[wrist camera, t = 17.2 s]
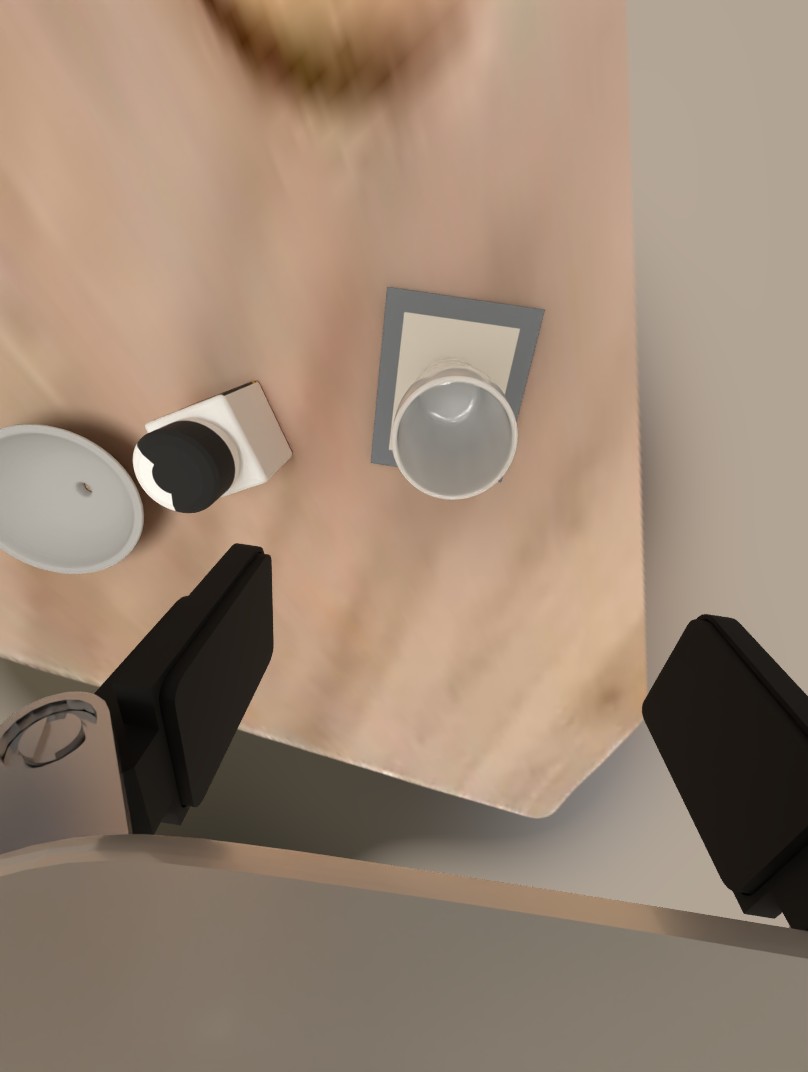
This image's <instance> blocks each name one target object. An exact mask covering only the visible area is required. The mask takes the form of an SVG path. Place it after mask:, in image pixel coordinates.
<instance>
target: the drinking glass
mask: <svg viewBox="0 0 808 1072" xmlns="http://www.w3.org/2000/svg"><path fill="white" fill-rule="evenodd" d="M391 440H392V451H393V455H394V458H395V461H396V464H397V466H398V468H399V470H400V471H401V473H402V474H403V476H404V477H405V478H406V479H407V480H408V482H410V483H411V484H412V485H413V486H414V487H415V488H417V489H418V490H420V491H421V492H423V493H425V494H427V495H430V496H433V497H436V498H440V499H448V500H457V499H465V498H469V497H473V496H475V495H478V494H480V493H482V492H484V491H486V490H488V489H489V488H490V487H492V486H493V485H494V484H496V483H497V482H498V481H499V480H500V479H501V478H502V477H503V475H504V474H505V473H506V471H507V470H508V468H509V467H510V465H511V463H512V461H513V458H514V455H515V452H516V448H517V441H518V430H517V423H516V419H515V416H514V413H513V411H512V408H511V406H510V404H509V402H508V400H507V398H506V396H505V395H504V393H503V391H502V390H501V389H500V387H499V386H498V385H497V384H496V383H495V382H494V381H493V380H492V379H491V378H490V377H489V376H488V375H486V374H485V373H484V372H482V371H480V370H478V369H477V368H474V367H473V366H472V365H470V364H469V363H468V362H466V361H464V360H461V359H458V358H444V359H440V360H438V361H436V362H434V363H432V364H431V365H430V366H428V367H427V368H426V369H425V371H424V372H423V373H422V374H421V375H420V376H419V377H418V378H417V379H416V380H415V381H414V382H413V383H412V384H411V385H410V387H409V388H408V389H407V391H406V392H405V394H404V396H403V397H402V399H401V401H400V404H399V406H398V409H397V412H396V415H395V419H394V424H393V429H392V438H391Z"/></svg>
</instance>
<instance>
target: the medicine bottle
mask: <svg viewBox="0 0 808 1072" xmlns="http://www.w3.org/2000/svg"><path fill="white" fill-rule="evenodd" d="M145 428H146V430H147V432H148V434H146V435H144V436H143V437H142V438H141V439H140V440H139V441H138V443H137V445H136V447H135V449H134V453H133V467H134V471H135V474H136V477H137V479H138V482H139V483H140V485H141V487H142V488H143V489H144V491H145V492H146V493H147V494H148V495H149V496H150V497H151V498H152V499H153V500H154V501H156V502H157V503H159V504H160V505H162V506H164V507H166V508H168V509H171V510H173V511H177V512H182V513H195V512H200V511H202V510H205V509H206V508H208V507H209V506H210V505H212V504H213V503H214V502H215V501H216V500H217V499H218V498H220V497H223V496H227V495H230V494H233V493H236V492H239V491H242V490H245V489H248V488H251V487H254V486H257V485H260V484H263V483H266V482H267V481H268V480H269V479H270V478H271V477H272V476H273V475H274V474H275V473H276V472H277V471H278V470H279V469H280V468H281V467H282V466H283V465H284V464H285V463H286V462H287V461H288V460H289V459H290V458H291V457H292V452H291V450H290V447H289V445H288V443H287V441H286V439H285V437H284V435H283V433H282V431H281V429H280V426H279V424H278V422H277V420H276V418H275V416H274V414H273V412H272V410H271V408H270V405H269V403H268V401H267V399H266V397H265V395H264V393H263V391H262V389H261V387H260V384H259V383H258V382H257V381H252V382H249V383H247V384H244V385H242V386H239V387H237V388H234V389H231V390H229V391H226V392H224V393H221V394H219V395H216V396H214V397H211V398H208V399H206V400H203V401H201V402H198V403H196V404H193V405H190V406H188V407H185V408H183V409H181V410H178V411H176V412H173V413H171V414H168V415H166V416H163V417H161V418H158V419H156V420H153V421H151V422H148V423H147V424H146V425H145Z"/></svg>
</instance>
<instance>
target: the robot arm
mask: <svg viewBox="0 0 808 1072" xmlns="http://www.w3.org/2000/svg"><path fill="white" fill-rule="evenodd" d="M272 653H273V604H272V564H271V556H270V555H267V554H264V551H263V548H262V547H258V546H251V545H245V544H238V543H236V544H234V545H232V546H231V548H230V549H229V550H228V551H227V552H226V553H225V555H224V556H223V557H222V558H221V559H220V560H219V561H218V563H217V564H216V565H215V566H214V567H213V568H212V569H211V571H210V572H209V573H208V574H207V575H206V576H205V577H204V579H203V580H202V581H201V582H200V583H199V584H198V585H197V587H196V588H195V589H194V590H193V591H192V592H191V593H190V595H189V596H185V597H182V598H180V599H179V600H178V601H177V602H176V603H175V604H174V605H173V606H172V607H171V608H170V610H169V611H168V612H167V613H166V614H165V615H164V616H163V617H162V618H161V620H160V621H159V622H158V623H157V624H156V625H155V626H154V627H153V629H152V630H151V631H150V632H149V633H148V634H147V635H146V636H145V637H144V639H143V640H142V641H141V642H140V643H139V644H138V645H137V646H136V648H135V649H134V650H133V651H132V652H131V653H130V654H129V655H128V656H127V658H126V659H125V660H124V661H123V662H122V663H121V664H120V665H119V667H118V668H117V669H116V670H115V671H114V672H113V673H112V674H111V675H110V677H109V678H108V679H107V680H106V681H105V682H104V683H103V684H102V685H101V687H100V688H99V689H98V690H97V691H96V692H95V693H94V694H91V693H87V692H65V693H61V694H56V695H51V696H48V697H46V698H43V699H40V700H38V701H35V702H33V703H31V704H29V705H27V706H25V707H24V708H22V709H21V710H19V711H17V712H15V713H14V714H12V715H11V716H10V717H9V718H7V719H6V720H5V721H4V722H3V723H2V724H0V1072H808V696H807V695H806V694H805V693H804V692H803V691H802V690H801V688H800V687H799V686H797V684H796V683H795V682H794V681H793V680H792V679H791V678H790V677H789V676H788V675H787V673H786V672H785V671H784V670H783V669H782V668H781V667H780V666H779V665H778V664H777V663H776V662H775V661H774V659H773V658H772V657H771V656H770V655H769V654H768V653H767V652H766V651H765V650H764V649H763V648H762V647H761V646H760V644H759V643H758V642H757V641H756V640H755V639H754V638H753V637H752V636H751V635H750V634H749V633H748V632H747V631H746V629H745V628H744V627H743V626H742V625H741V624H740V623H739V622H738V621H737V620H735V619H732V618H728V617H721V616H715V615H708V614H704V615H701V616H699V617H698V618H697V619H695V620H692V621H690V622H689V624H688V625H687V627H686V629H685V631H684V632H683V634H682V636H681V637H680V639H679V641H678V643H677V645H676V646H675V648H674V650H673V651H672V653H671V655H670V657H669V658H668V660H667V662H666V664H665V665H664V667H663V669H662V671H661V673H660V674H659V676H658V678H657V680H656V681H655V683H654V685H653V686H652V688H651V690H650V692H649V693H648V695H647V697H646V699H645V700H644V702H643V706H642V714H643V718H644V721H645V723H646V725H647V727H648V729H649V731H650V733H651V735H652V737H653V739H654V741H655V743H656V745H657V748H658V749H659V752H660V754H661V756H662V758H663V760H664V762H665V764H666V766H667V768H668V770H669V772H670V774H671V776H672V778H673V781H674V783H675V784H676V787H677V789H678V791H679V793H680V795H681V797H682V799H683V801H684V803H685V805H686V807H687V809H688V811H689V813H690V816H691V818H692V820H693V822H694V824H695V826H696V828H697V830H698V832H699V834H700V836H701V838H702V840H703V842H704V844H705V847H706V848H707V851H708V853H709V855H710V857H711V859H712V861H713V863H714V865H715V867H716V869H717V871H718V873H719V875H720V878H721V879H722V881H723V883H724V884H725V885H726V886H727V887H728V888H729V889H730V890H732V891H733V893H734V895H735V897H736V899H737V901H738V903H739V905H740V907H741V909H742V911H743V913H744V914H748V915H755V916H761V917H768V918H776V917H777V916H778V915H780V914H781V913H782V912H783V914H784V916H785V918H786V920H787V921H788V923H789V925H790V926H789V928H785V927H779V926H772V925H766V924H760V923H754V922H748V921H742V920H735V919H730V918H723V917H717V916H711V915H705V914H699V913H693V912H687V911H680V910H674V909H668V908H661V907H656V906H649V905H643V904H637V903H630V902H624V901H618V900H611V899H605V898H599V897H592V896H586V895H580V894H573V893H567V892H561V891H554V890H547V889H542V888H535V887H528V886H522V885H516V884H509V883H503V882H496V881H490V880H484V879H477V878H471V877H465V876H458V875H452V874H445V873H439V872H432V871H425V870H419V869H411V868H406V867H399V866H392V865H386V864H379V863H373V862H366V861H359V860H352V859H346V858H340V857H332V856H326V855H320V854H313V853H306V852H300V851H292V850H284V849H277V848H269V847H262V846H254V845H246V844H239V843H231V842H223V841H216V840H209V839H201V838H189V837H176V836H162V835H154V833H155V832H156V830H157V828H158V826H159V824H160V822H163V823H170V824H176V825H181V823H182V822H183V819H184V817H185V816H186V814H187V812H188V810H189V807H190V806H192V807H197V806H199V805H200V803H201V802H202V800H203V798H204V796H205V795H206V793H207V790H208V788H209V786H210V784H211V782H212V780H213V778H214V776H215V774H216V772H217V770H218V768H219V766H220V763H221V762H222V759H223V757H224V755H225V753H226V751H227V749H228V747H229V745H230V743H231V741H232V738H233V737H234V735H235V732H236V730H237V728H238V726H239V724H240V722H241V720H242V718H243V716H244V714H245V712H246V710H247V708H248V706H249V704H250V702H251V700H252V697H253V695H254V693H255V691H256V689H257V687H258V685H259V683H260V681H261V679H262V677H263V675H264V673H265V671H266V669H267V666H268V664H269V662H270V660H271V657H272Z"/></svg>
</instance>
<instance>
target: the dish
mask: <svg viewBox="0 0 808 1072" xmlns="http://www.w3.org/2000/svg"><path fill="white" fill-rule="evenodd" d="M85 483H86V484H87V485H89V486H90V488H91V490H92V491H89V490H87V489H86V487H85ZM143 524H144V510H143V504H142V500H141V497H140V494H139V491H138V489H137V487H136V485H135V483H134V482H133V480H132V478H131V477H130V475H129V474H128V473H127V471H126V470H125V469H124V468H123V466H122V465H121V464H120V463H119V462H118V461H117V460H116V459H115V458H114V457H113V456H112V455H110V454H109V453H108V452H107V451H105V450H104V449H103V448H101V447H100V446H98V445H97V444H95V443H94V442H92V441H90V440H88V439H87V438H85V437H82V436H80V435H78V434H76V433H73V432H71V431H68V430H65V429H61V428H57V427H53V426H47V425H39V424H21V425H13V426H8V427H4V428H1V429H0V548H1V549H2V550H3V551H5V552H6V553H8V554H9V555H11V556H13V557H15V558H16V559H18V560H20V561H22V562H24V563H27V564H29V565H31V566H34V567H37V568H40V569H44V570H47V571H52V572H57V573H65V574H84V573H91V572H96V571H100V570H103V569H106V568H108V567H111V566H113V565H115V564H117V563H118V562H120V561H121V560H123V559H124V558H125V557H126V556H127V555H128V554H129V553H130V552H131V551H132V550H133V549H134V547H135V546H136V544H137V542H138V541H139V539H140V536H141V534H142V530H143Z"/></svg>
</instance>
